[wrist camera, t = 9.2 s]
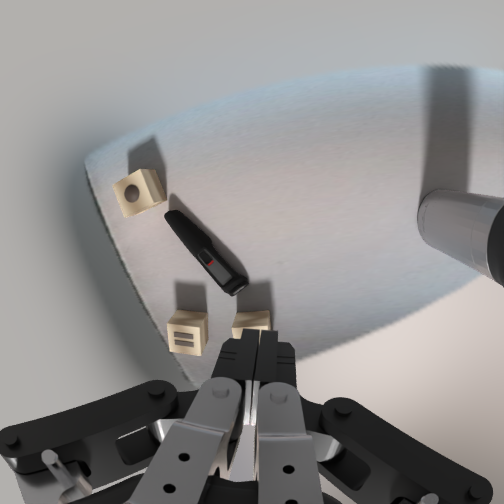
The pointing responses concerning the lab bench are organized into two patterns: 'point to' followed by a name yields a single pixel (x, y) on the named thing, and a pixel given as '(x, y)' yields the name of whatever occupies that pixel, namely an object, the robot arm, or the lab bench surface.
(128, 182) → the maple block
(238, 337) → the maple block
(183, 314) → the maple block
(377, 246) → the lab bench surface
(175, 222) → the electric trimmer
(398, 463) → the robot arm
